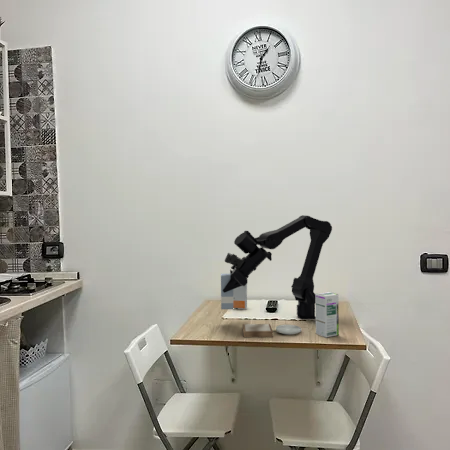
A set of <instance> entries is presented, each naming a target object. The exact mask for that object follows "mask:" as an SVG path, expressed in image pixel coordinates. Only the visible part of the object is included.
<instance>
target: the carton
mask: <svg viewBox="0 0 450 450" xmlns="http://www.w3.org/2000/svg"><path fill="white" fill-rule="evenodd" d="M229 280H230V273H220V309H221V310H234V309H233V289H232V290H230V291H227V292H225V293H224V292H223V289H224V287H225V286H226V285H227V283H228V282H229Z"/></svg>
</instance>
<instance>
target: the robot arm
mask: <svg viewBox="0 0 450 450" xmlns="http://www.w3.org/2000/svg"><path fill="white" fill-rule="evenodd" d="M304 228H305V229H308V230H309V237H310V238H309V239H310V242H309V245H308V249H307V253H306V255H305V256H306V257H305V260H304V262H303V266H302V269H301V273H300V274H299V276H298V277H294V278H293V281H292V285H291V293H292V295H293V297H294V299H295V301H297V304H296V316H297V317H298V318H299V319H300V320H303V319H304V320H305V319H306V320H310V319H311V320H313V319H314V320H316V306H315V294H316V293H315V292H314V290H315V284H314V277H315V273H316V269H317V265H318V262H319V259H320V256H321V252H322V249H323V246H324V244H325V243H326V241H327V240H328V239H329V237H330V236H331V234H332V231H333V227H332V224H331V223H330V222H329V221H327V220H321V219H317V218H314V217H312V216H310V215H306V214H305V215H300V216H299V217H298V218H295V219H293V220H292V221H290V222H288V223H287V224H285V225H282V226H281V227H279V228H277V229H274V230H269V231H265V232H263V233H261V234H259V236H257V237H255V236H253V235H252V233H251V232H250V231H249V230H244V231H243V232H242V233H240V234H239V235H238V236H237V237H236V238H235V239H234V241H233V243H234V245H235V246H236V247H238V249H240V251H241V252H243V253H244V254H245V255H246V256H243V257H242V258H241V257H239V256H237V255H236V254H235V253H230V252H228V253H227V255H226V256H225V258H224V262H225V263H227V264H230V265H231V266H230V268H231V269H230V270H229V271H230V272H229V274H230V280H229V282H228V283H227V285H226V286H225V287H224V289H223V292H224V293H225V292H227V291H230V290H232V289H235V288H237V287H240V286H245V285H246V284H247V285H248V278H249V276H250V275H251V274H252V273H253V272H255V271H256V270H257V268H258V267H259V266H260V265H261V264H262V263H263V262H264V261H265V260H266V259H267V260H268V261H270V262H271V261H272V254H273V253H272V252H271V251H267V250H275V249H277V248H278V247H279V246H280V245H281V244H282V243H283V242H284V240H286V239H287V238H289V237H291V236H292V235H294V234H295V233H297V232H299V231H301V230H303V229H304ZM266 249H267V250H266Z"/></svg>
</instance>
